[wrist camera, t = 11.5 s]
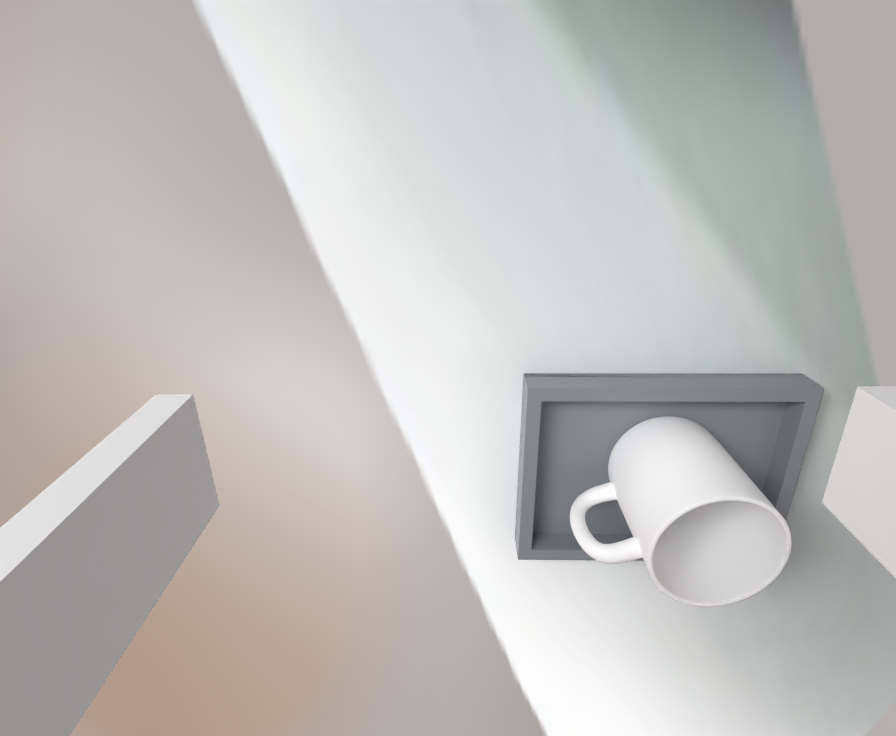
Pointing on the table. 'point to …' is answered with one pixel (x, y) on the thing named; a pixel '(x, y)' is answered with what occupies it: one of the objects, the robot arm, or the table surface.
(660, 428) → the cup
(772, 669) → the table surface
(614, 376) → the grey tray
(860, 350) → the table surface
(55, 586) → the robot arm
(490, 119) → the table surface
